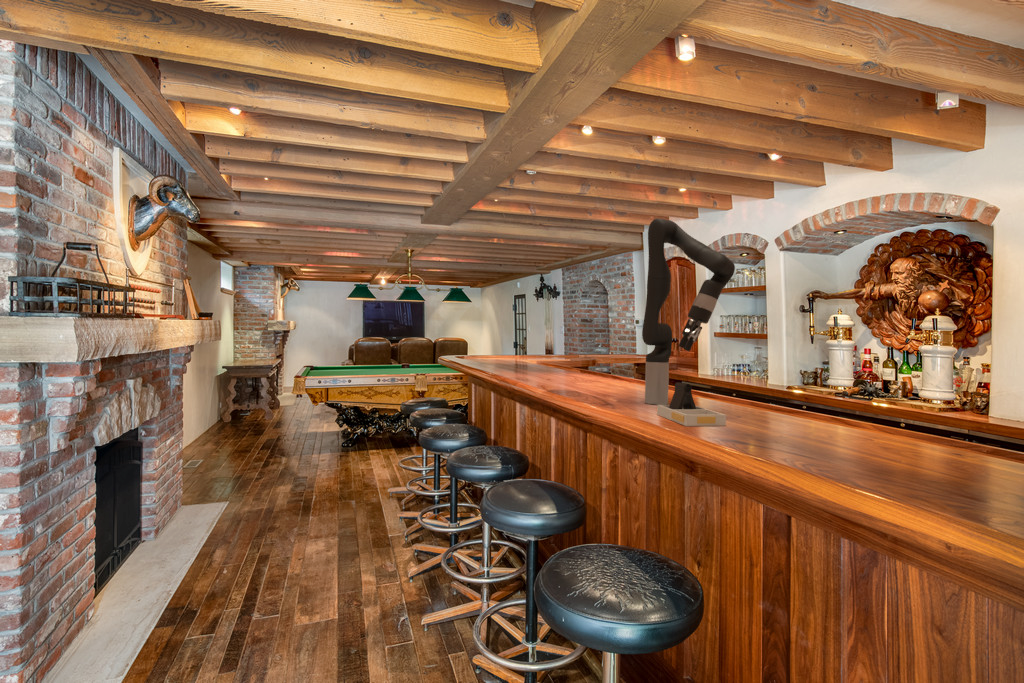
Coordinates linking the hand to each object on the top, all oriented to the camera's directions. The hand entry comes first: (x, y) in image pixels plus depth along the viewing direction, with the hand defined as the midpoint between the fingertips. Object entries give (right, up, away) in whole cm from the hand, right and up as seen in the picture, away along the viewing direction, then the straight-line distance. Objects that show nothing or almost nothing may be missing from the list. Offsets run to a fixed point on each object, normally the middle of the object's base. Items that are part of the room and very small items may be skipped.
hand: (684, 348), depth 178 cm
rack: (-3, -24, -14) cm, 28 cm away
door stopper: (-4, -24, -9) cm, 26 cm away
